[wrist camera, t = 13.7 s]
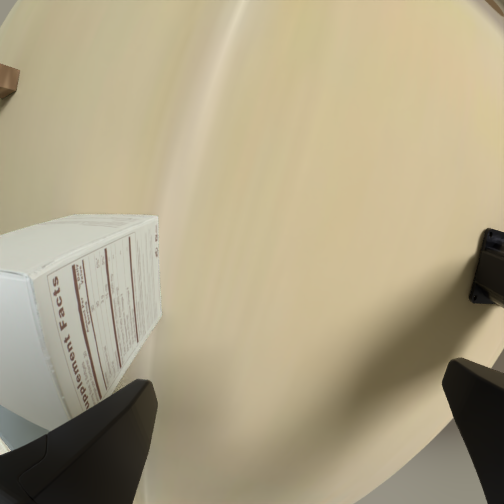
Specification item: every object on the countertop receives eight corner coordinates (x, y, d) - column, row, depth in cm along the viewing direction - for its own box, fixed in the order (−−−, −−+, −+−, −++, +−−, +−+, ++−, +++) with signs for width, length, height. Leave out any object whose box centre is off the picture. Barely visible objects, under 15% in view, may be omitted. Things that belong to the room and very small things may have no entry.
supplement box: (82, 304, 20) (-22, 394, 7) (73, 212, 18) (-67, 252, 6) (165, 317, 20) (84, 451, 7) (163, 214, 18) (24, 271, 6)
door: (4, 288, 19) (-66, 329, 9) (17, 285, 19) (-59, 329, 9) (70, 418, 23) (31, 476, 13) (84, 420, 23) (46, 483, 13)
